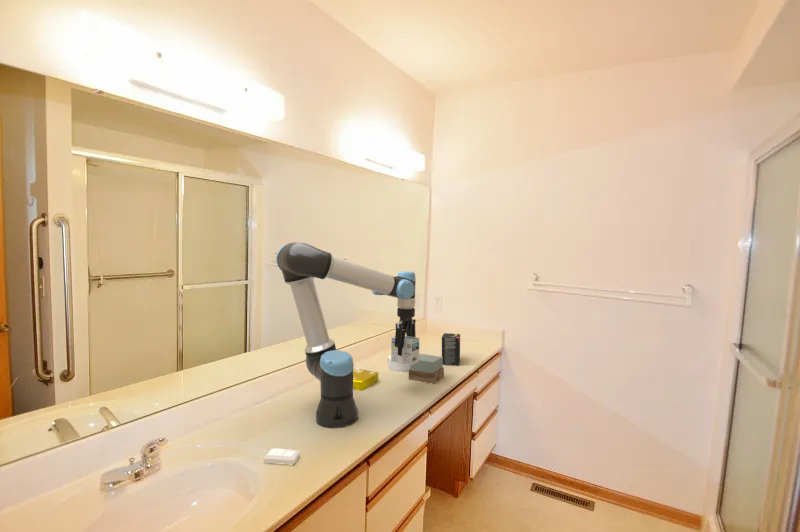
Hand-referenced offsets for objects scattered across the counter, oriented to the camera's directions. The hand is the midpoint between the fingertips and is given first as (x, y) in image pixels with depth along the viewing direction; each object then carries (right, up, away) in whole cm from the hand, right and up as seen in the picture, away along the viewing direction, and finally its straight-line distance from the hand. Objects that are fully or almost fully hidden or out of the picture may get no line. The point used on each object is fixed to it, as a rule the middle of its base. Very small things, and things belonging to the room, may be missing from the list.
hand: (405, 360), depth 174 cm
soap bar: (-37, -17, -56) cm, 69 cm away
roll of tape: (-1, -11, +33) cm, 35 cm away
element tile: (-22, -13, +9) cm, 27 cm away
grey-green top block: (+10, -7, +16) cm, 20 cm away
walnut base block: (+10, -12, +15) cm, 22 cm away
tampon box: (+25, -11, +41) cm, 49 cm away
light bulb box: (0, -1, 0) cm, 1 cm away
